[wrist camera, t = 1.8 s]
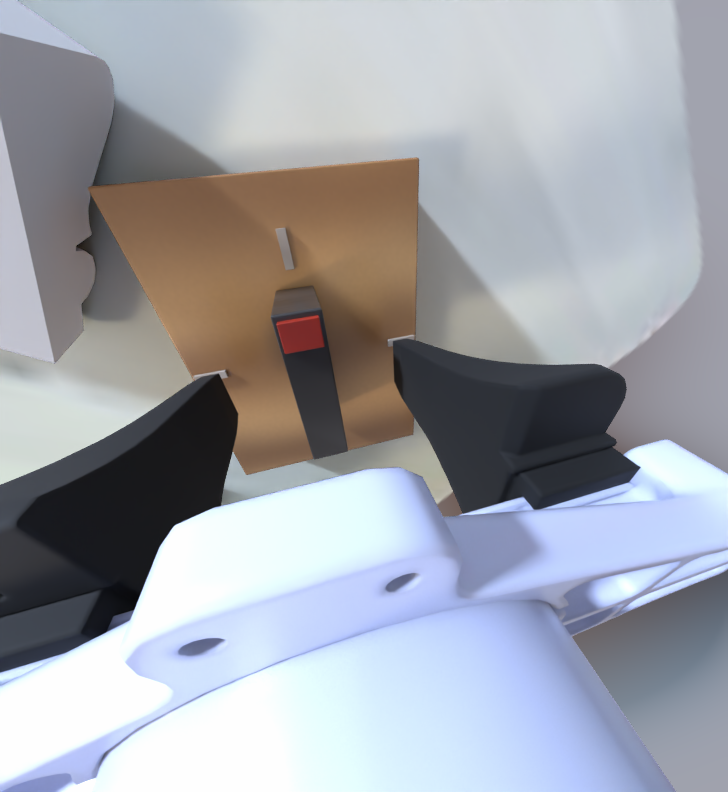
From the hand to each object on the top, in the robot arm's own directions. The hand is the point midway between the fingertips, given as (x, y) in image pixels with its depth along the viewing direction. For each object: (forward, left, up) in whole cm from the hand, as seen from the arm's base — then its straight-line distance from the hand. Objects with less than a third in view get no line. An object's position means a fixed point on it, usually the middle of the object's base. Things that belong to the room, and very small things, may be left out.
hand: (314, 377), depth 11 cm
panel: (0, 0, -5) cm, 5 cm away
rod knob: (0, 0, -2) cm, 2 cm away
